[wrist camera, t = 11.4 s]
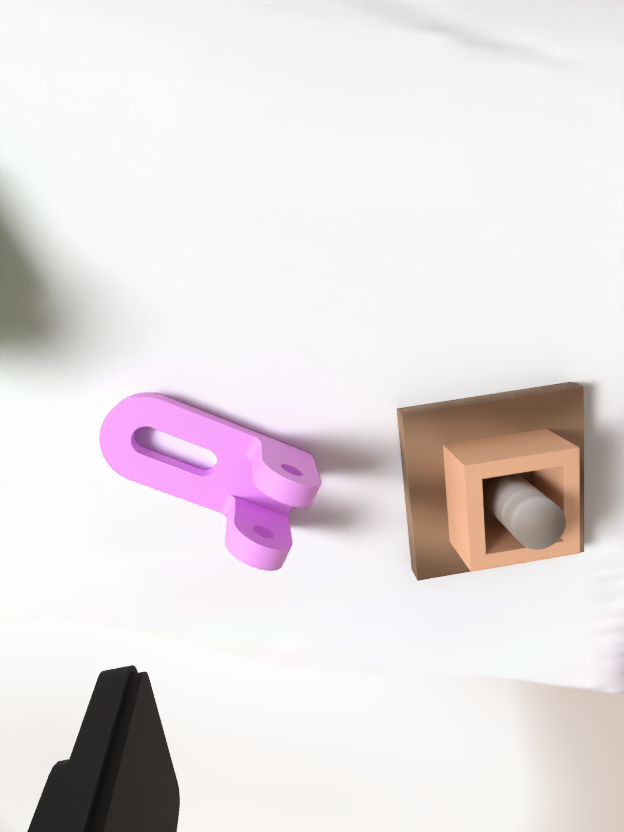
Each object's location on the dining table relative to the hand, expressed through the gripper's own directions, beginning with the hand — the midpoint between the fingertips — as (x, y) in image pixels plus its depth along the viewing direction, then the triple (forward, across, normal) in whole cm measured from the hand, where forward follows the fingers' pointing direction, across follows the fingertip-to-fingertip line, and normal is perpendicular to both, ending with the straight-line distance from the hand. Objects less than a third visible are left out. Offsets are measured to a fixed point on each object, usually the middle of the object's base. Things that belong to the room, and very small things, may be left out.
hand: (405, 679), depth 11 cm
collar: (+26, -12, +10) cm, 30 cm away
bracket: (+28, +7, +4) cm, 29 cm away
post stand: (+28, -12, +10) cm, 32 cm away
